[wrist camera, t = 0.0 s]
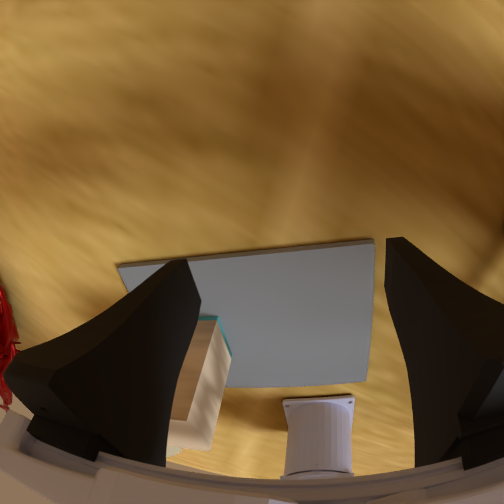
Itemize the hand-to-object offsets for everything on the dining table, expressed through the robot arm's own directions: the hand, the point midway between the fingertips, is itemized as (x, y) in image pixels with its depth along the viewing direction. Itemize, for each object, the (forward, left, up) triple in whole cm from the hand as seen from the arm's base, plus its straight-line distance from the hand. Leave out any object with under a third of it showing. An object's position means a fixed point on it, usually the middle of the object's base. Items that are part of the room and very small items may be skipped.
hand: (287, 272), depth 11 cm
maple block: (-13, +10, -10) cm, 19 cm away
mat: (-13, +5, -10) cm, 17 cm away
